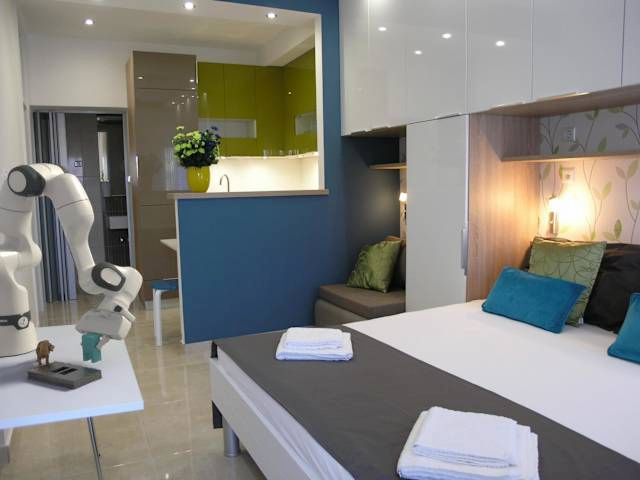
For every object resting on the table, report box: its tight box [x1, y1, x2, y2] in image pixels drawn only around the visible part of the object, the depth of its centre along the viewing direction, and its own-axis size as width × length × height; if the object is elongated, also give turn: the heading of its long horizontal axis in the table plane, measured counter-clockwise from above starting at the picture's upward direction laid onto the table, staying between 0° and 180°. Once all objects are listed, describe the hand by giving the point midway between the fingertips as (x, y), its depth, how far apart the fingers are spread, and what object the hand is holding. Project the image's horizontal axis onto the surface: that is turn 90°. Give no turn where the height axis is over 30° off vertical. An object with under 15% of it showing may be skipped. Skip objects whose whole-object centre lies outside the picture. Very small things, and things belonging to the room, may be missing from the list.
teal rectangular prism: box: [81, 333, 102, 364], centre depth 183 cm, size 5×3×8 cm, turn 63°
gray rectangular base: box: [27, 360, 103, 390], centre depth 174 cm, size 21×10×2 cm, turn 63°
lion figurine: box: [35, 339, 55, 367], centre depth 189 cm, size 15×5×9 cm, turn 37°
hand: (89, 347), depth 183 cm, fingers closed on teal rectangular prism, 5 cm apart
